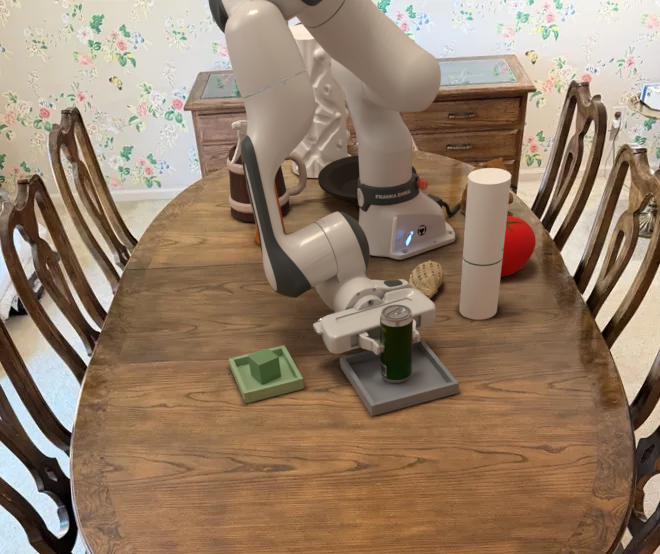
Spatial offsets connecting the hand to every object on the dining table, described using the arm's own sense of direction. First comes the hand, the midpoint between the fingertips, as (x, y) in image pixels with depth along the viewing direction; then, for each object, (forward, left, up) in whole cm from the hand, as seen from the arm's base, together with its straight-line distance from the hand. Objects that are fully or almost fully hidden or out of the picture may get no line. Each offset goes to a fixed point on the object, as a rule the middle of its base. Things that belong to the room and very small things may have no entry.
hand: (398, 344), depth 119 cm
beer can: (0, -1, -7) cm, 7 cm away
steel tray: (0, -1, -7) cm, 8 cm away
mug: (+1, -81, -8) cm, 81 cm away
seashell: (-17, -27, -8) cm, 33 cm away
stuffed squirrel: (-43, -53, -8) cm, 68 cm away
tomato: (-34, -29, -8) cm, 45 cm away
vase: (-19, -101, -8) cm, 103 cm away
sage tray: (+21, -11, -7) cm, 25 cm away
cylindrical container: (-23, -16, -8) cm, 29 cm away
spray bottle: (+7, -64, -8) cm, 65 cm away
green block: (+21, -11, -7) cm, 25 cm away
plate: (-23, -76, -8) cm, 80 cm away
